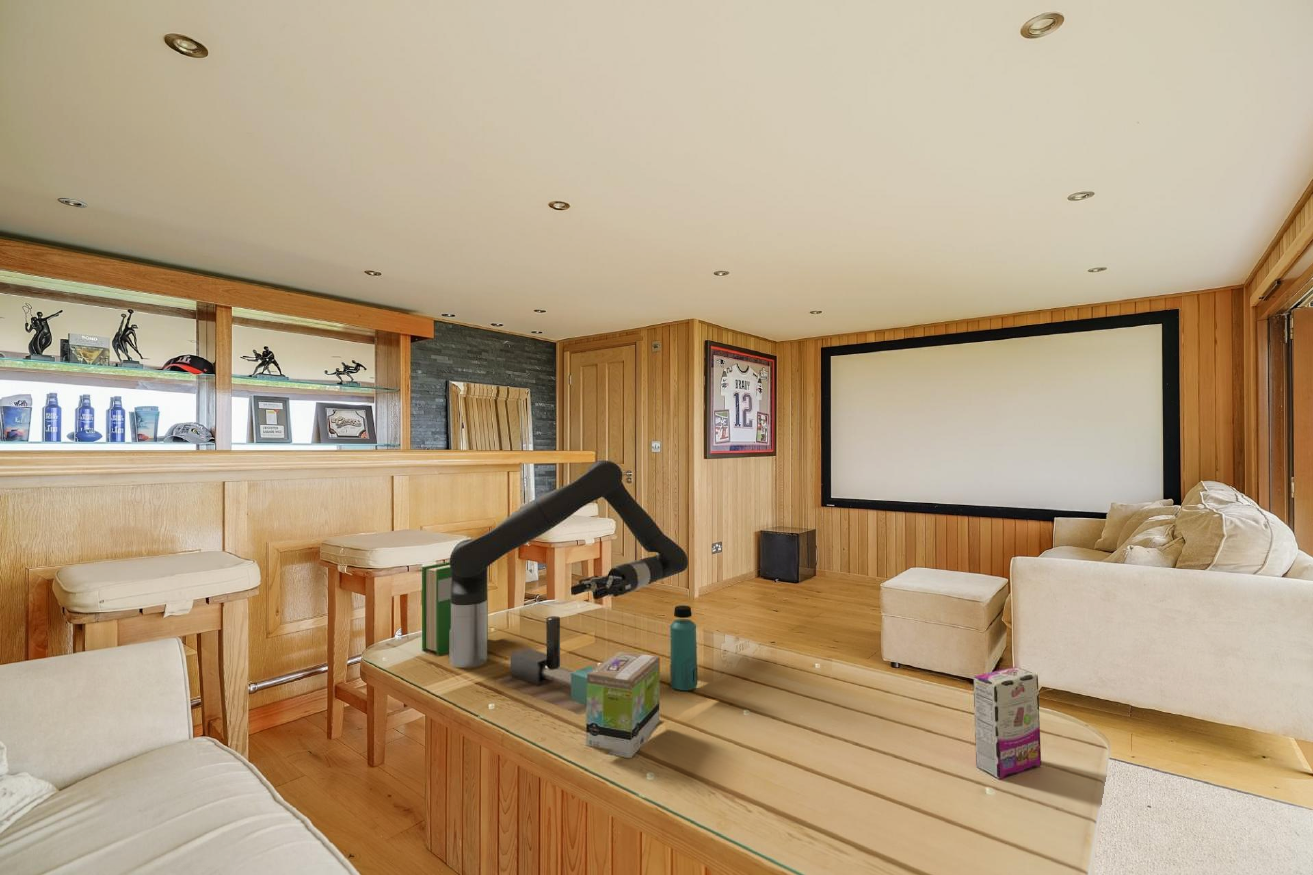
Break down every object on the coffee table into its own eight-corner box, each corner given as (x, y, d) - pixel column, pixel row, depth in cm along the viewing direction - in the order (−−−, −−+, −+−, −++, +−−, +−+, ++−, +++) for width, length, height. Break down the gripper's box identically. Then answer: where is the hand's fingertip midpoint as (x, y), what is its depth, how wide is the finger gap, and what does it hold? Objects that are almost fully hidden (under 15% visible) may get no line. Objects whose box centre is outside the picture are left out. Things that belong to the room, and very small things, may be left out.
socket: (571, 699, 139) (571, 673, 139) (590, 691, 144) (590, 665, 144) (591, 707, 135) (591, 679, 135) (611, 698, 140) (610, 672, 140)
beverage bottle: (696, 698, 143) (695, 610, 143) (667, 696, 144) (666, 609, 144) (699, 687, 149) (698, 603, 149) (672, 685, 150) (671, 602, 151)
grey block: (510, 676, 154) (510, 653, 154) (527, 670, 158) (527, 647, 158) (537, 686, 147) (537, 662, 147) (555, 680, 151) (555, 656, 151)
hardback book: (438, 655, 174) (438, 569, 174) (422, 651, 178) (421, 567, 178) (487, 639, 188) (487, 559, 189) (471, 635, 193) (471, 557, 193)
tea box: (633, 760, 115) (632, 679, 115) (584, 751, 118) (584, 673, 118) (661, 726, 129) (660, 654, 129) (616, 719, 132) (616, 649, 132)
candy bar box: (1016, 754, 116) (1014, 665, 116) (1042, 766, 111) (1040, 674, 111) (973, 767, 111) (971, 674, 111) (998, 780, 107) (996, 684, 107)
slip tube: (515, 670, 154) (514, 611, 155) (526, 666, 157) (525, 608, 157) (570, 690, 141) (570, 625, 142) (581, 686, 144) (581, 622, 144)
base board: (494, 686, 151) (494, 681, 151) (539, 670, 162) (539, 665, 162) (579, 719, 132) (579, 714, 132) (624, 699, 142) (624, 693, 142)
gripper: (610, 560, 171) (563, 575, 159) (646, 565, 161) (600, 581, 150) (612, 587, 171) (566, 604, 160) (649, 594, 162) (603, 612, 150)
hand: (582, 593), depth 155 cm, fingers open, 8 cm apart
